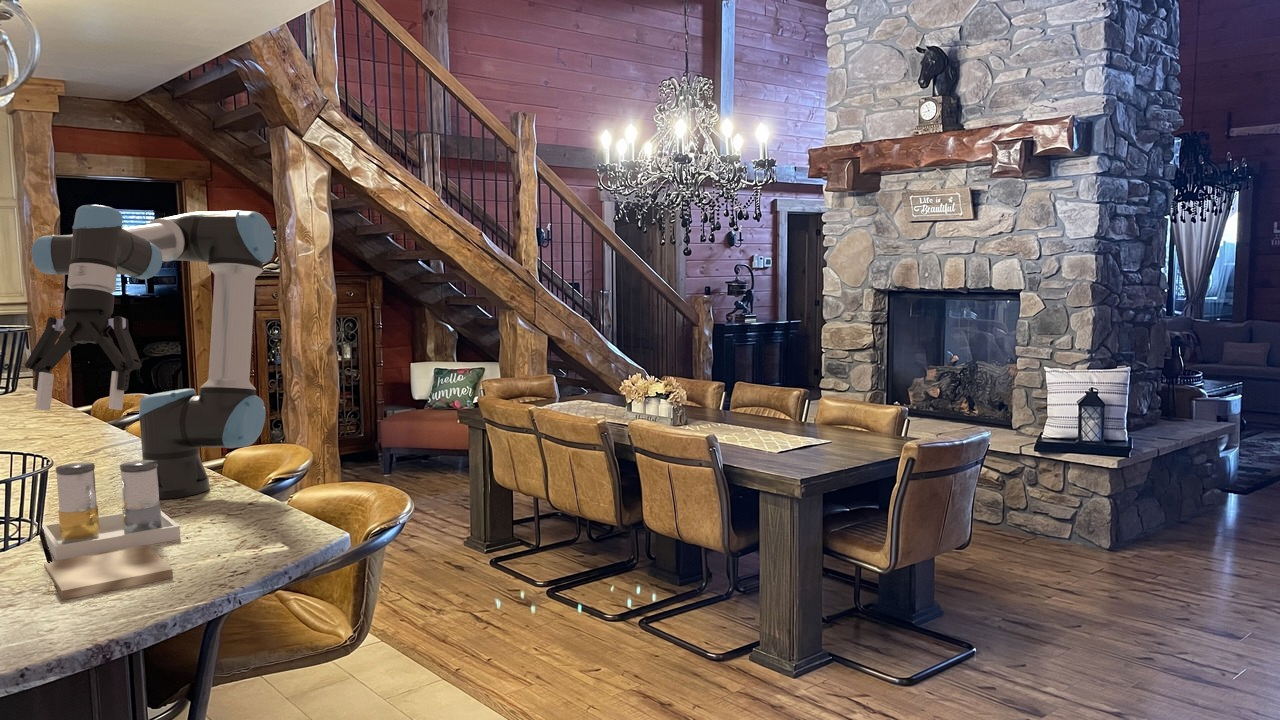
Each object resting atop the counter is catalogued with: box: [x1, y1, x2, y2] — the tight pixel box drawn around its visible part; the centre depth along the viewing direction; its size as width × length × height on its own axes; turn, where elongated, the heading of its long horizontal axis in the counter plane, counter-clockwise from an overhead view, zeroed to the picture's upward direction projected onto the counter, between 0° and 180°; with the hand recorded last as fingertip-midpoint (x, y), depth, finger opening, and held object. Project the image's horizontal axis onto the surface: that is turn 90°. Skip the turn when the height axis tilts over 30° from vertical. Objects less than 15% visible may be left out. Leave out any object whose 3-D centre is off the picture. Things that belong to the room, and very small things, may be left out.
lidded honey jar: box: [55, 462, 100, 544], centre depth 179 cm, size 6×6×14 cm
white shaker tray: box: [42, 510, 181, 561], centre depth 180 cm, size 20×18×4 cm
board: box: [43, 545, 174, 601], centre depth 163 cm, size 16×18×2 cm
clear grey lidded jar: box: [119, 459, 162, 534], centre depth 180 cm, size 6×6×14 cm
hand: (78, 409), depth 169 cm, fingers open, 13 cm apart
